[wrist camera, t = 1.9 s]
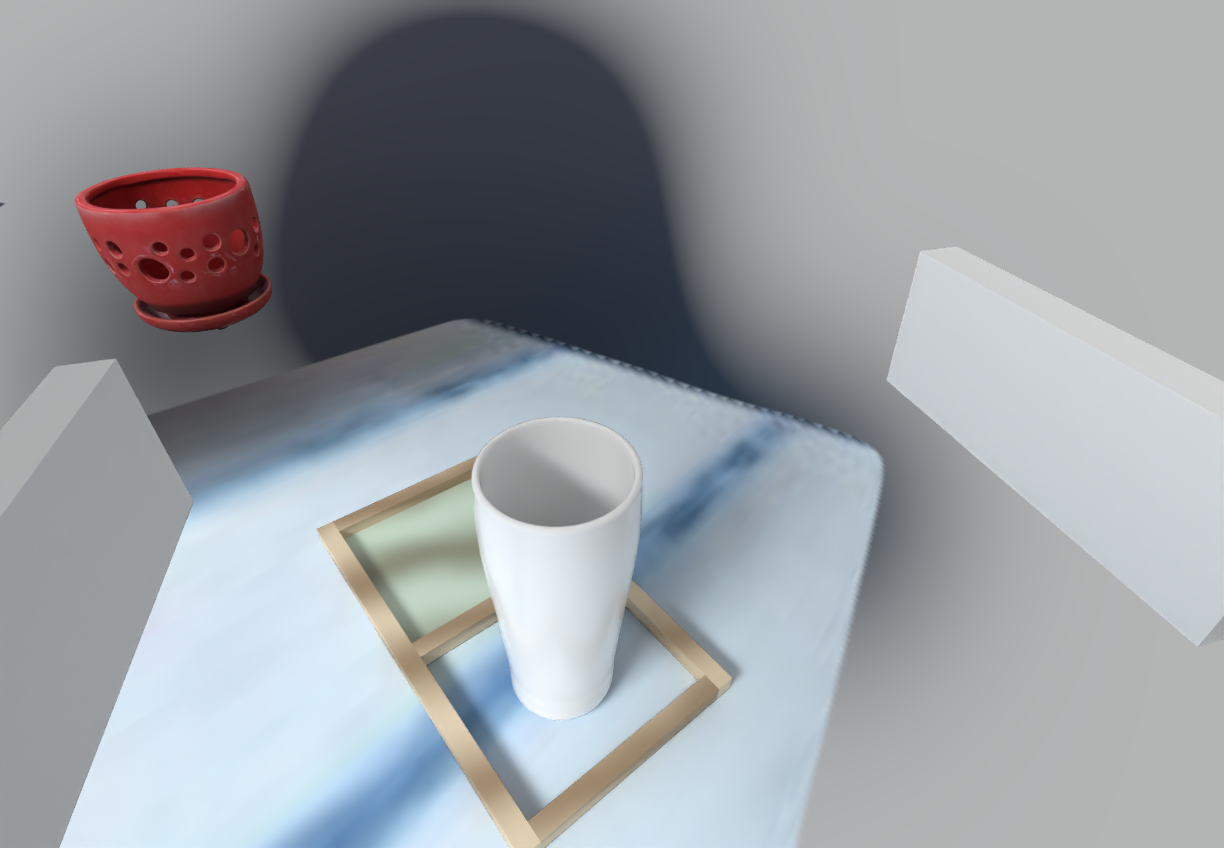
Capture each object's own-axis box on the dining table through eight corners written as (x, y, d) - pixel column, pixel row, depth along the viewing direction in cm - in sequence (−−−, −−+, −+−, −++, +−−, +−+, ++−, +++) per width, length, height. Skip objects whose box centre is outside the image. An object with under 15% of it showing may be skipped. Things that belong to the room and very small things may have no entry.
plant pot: (311, 304, 64) (277, 183, 57) (175, 360, 56) (114, 225, 49) (240, 267, 70) (200, 152, 63) (107, 312, 62) (43, 185, 54)
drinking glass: (494, 630, 36) (467, 420, 27) (613, 613, 37) (626, 407, 28) (501, 751, 31) (469, 544, 22) (638, 728, 32) (664, 521, 23)
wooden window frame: (320, 539, 41) (316, 529, 40) (497, 457, 48) (496, 447, 47) (521, 867, 27) (520, 858, 27) (729, 687, 34) (732, 677, 33)
